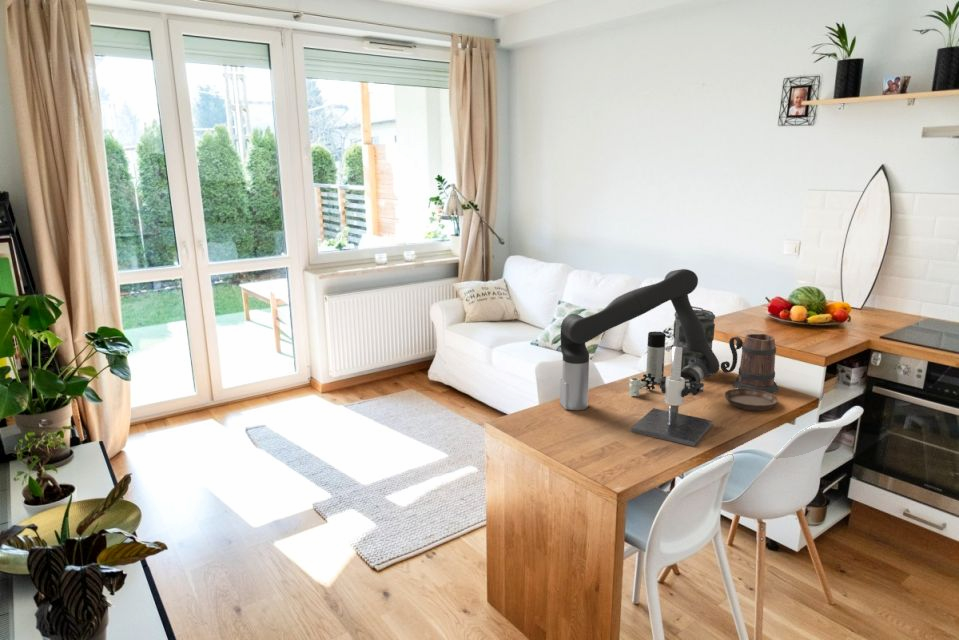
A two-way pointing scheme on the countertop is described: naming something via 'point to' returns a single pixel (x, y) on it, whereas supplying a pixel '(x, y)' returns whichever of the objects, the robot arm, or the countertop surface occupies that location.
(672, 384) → the sleeve
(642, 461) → the countertop surface
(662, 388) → the robot arm
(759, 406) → the plant saucer
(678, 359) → the pipe stand
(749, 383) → the tankard
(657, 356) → the spray can
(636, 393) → the valve
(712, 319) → the canister
